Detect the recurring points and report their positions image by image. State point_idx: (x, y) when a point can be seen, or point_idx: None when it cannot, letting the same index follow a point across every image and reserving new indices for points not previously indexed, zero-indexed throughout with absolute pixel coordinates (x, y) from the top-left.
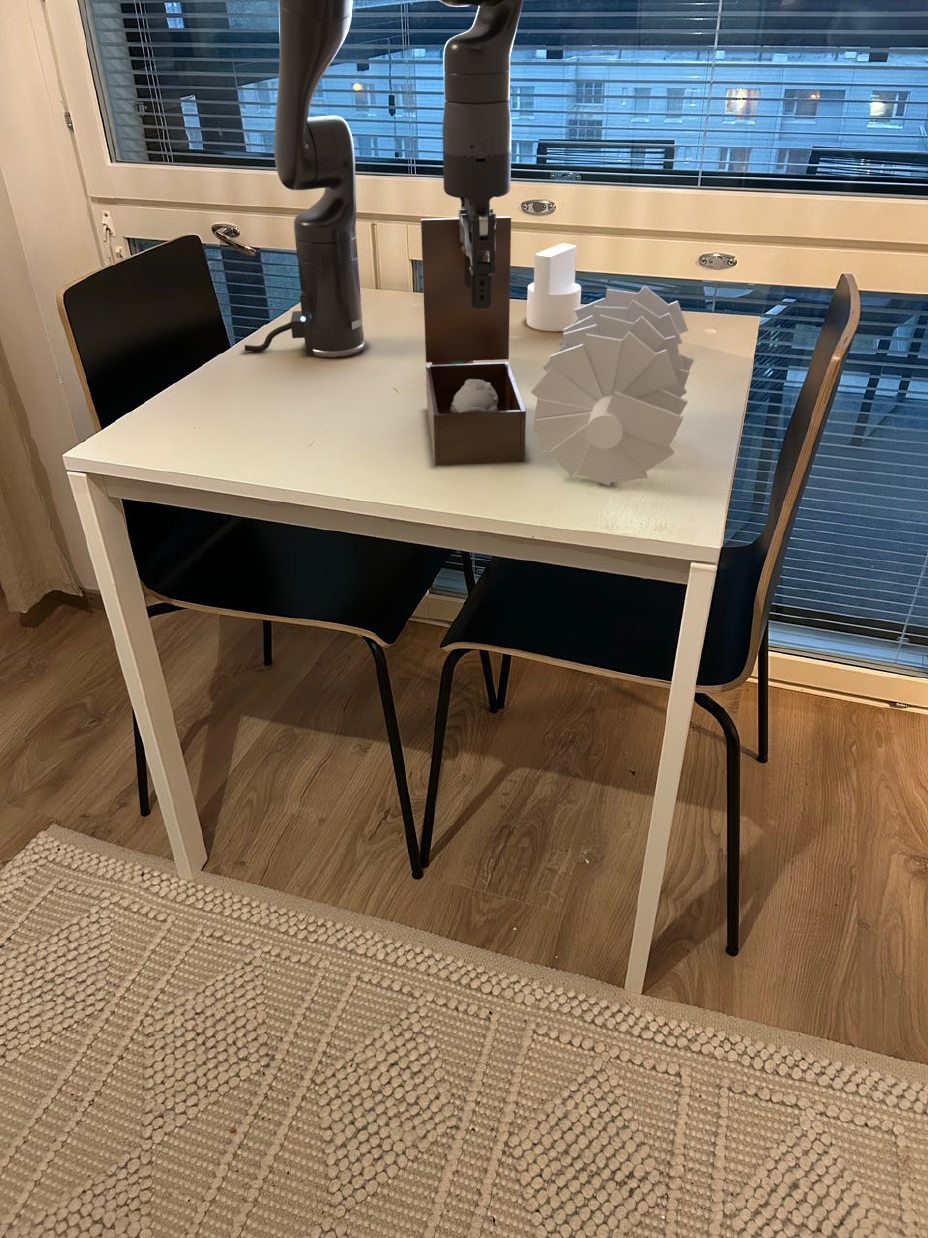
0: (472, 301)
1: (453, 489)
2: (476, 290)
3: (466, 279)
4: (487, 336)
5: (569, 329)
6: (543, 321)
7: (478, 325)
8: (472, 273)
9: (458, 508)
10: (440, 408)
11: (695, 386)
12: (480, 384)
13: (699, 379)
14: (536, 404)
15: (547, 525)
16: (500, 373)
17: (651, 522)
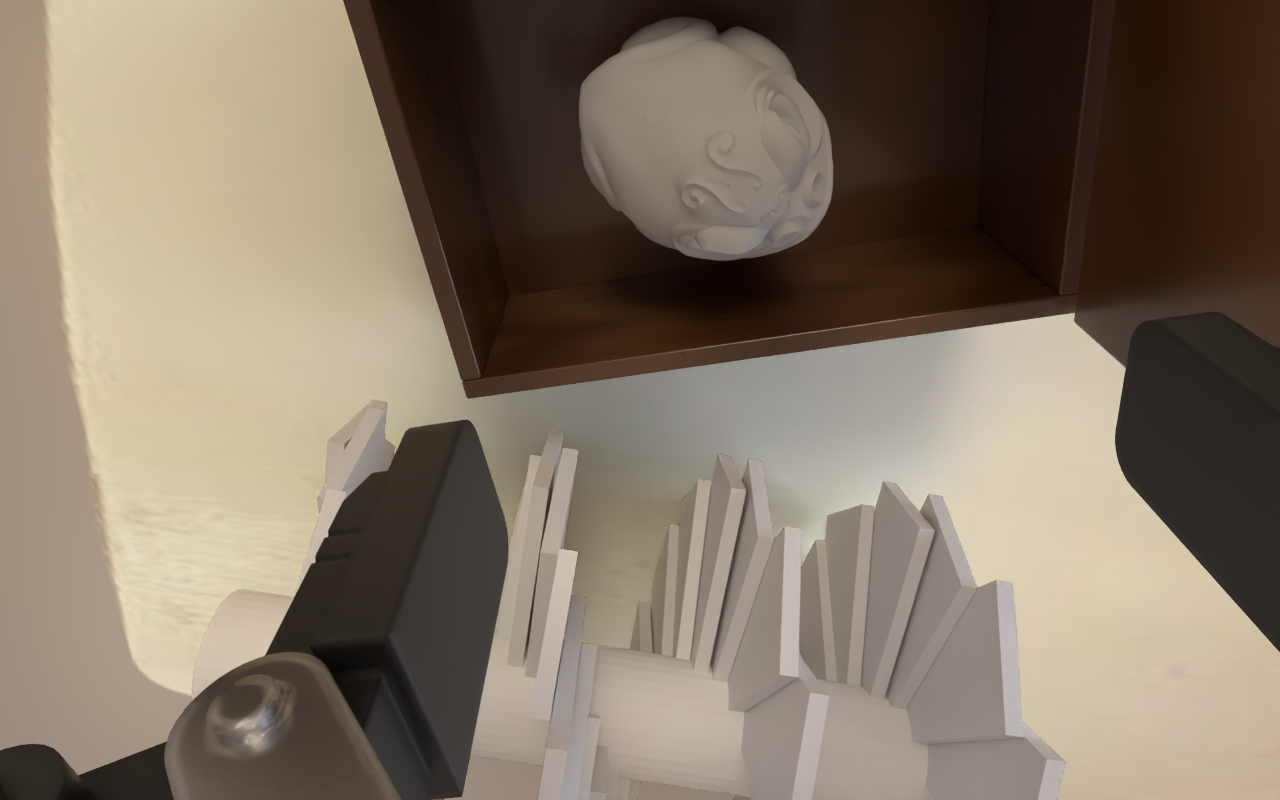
0: (398, 454)
1: (218, 58)
2: (305, 575)
3: (1177, 361)
4: (1158, 264)
5: (801, 722)
6: None
7: (1215, 234)
8: (202, 699)
9: (77, 91)
10: None
11: (1051, 740)
12: (702, 206)
13: (1101, 751)
14: (328, 481)
15: (83, 375)
16: (1039, 259)
17: (202, 599)
